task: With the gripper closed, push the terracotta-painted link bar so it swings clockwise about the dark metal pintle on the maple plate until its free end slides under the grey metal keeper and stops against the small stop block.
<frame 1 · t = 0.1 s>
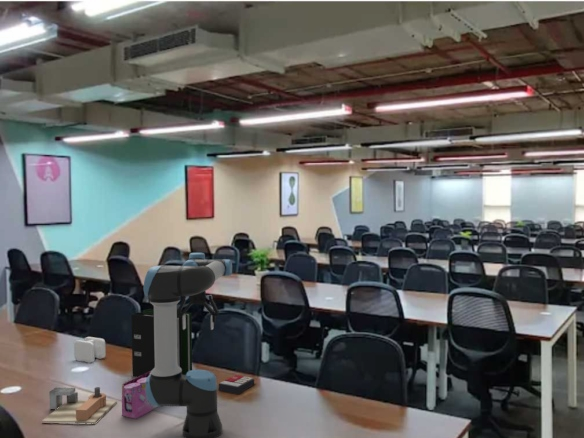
hand: (198, 329, 250), 28 cm above the table, tool pointing down, fingers open, 13 cm apart
calculator: (236, 388, 249), on the table
gum box: (146, 408, 226), on the table
keeper: (64, 407, 226), resting on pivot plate
binder: (162, 375, 267), on the table
cable organizer: (89, 360, 295), on the table
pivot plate: (81, 413, 220), on the table
link: (91, 405, 219), point 4 cm above the table, hinge at 0.0°
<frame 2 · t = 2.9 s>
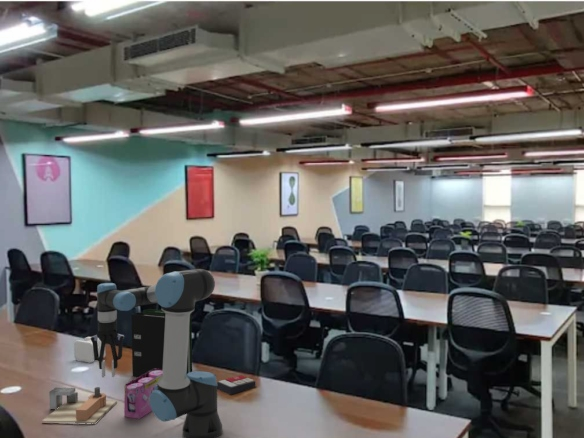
hand: (108, 376, 217), 17 cm above the table, tool pointing down, fingers open, 3 cm apart
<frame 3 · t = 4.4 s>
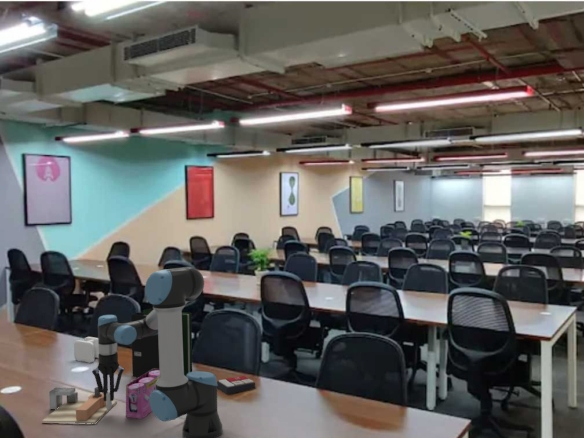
hand: (109, 408, 218), 3 cm above the table, tool pointing down, fingers closed
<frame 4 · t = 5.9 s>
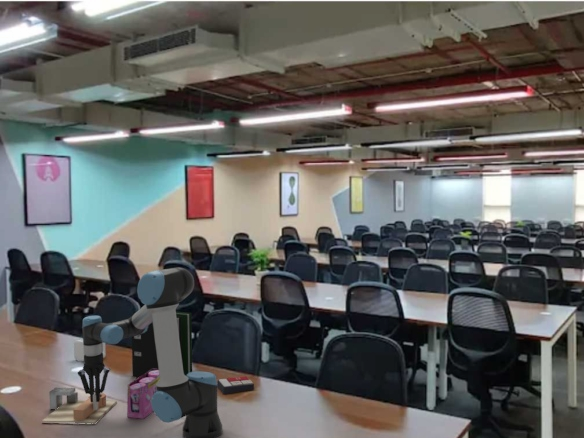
hand: (95, 409, 217), 3 cm above the table, tool pointing down, fingers closed
link: (90, 405, 219), point 4 cm above the table, hinge at -4.4°, touching gripper
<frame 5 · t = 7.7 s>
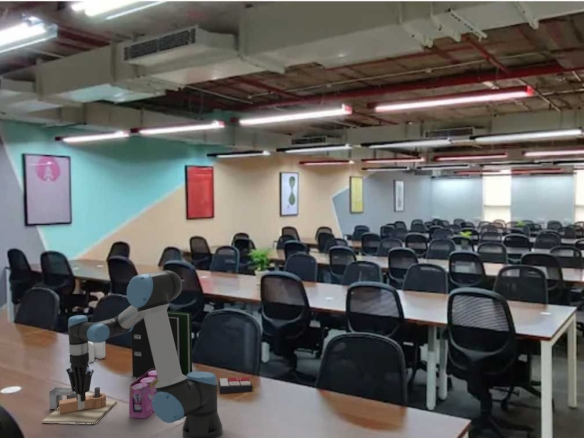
hand: (81, 408, 219), 3 cm above the table, tool pointing down, fingers closed
link: (82, 403, 222), point 4 cm above the table, hinge at -59.4°, touching gripper
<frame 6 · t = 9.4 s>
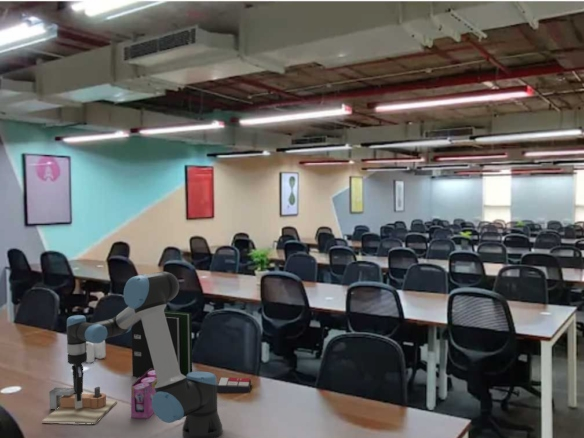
hand: (78, 407, 220), 2 cm above the table, tool pointing down, fingers closed
link: (83, 400, 225), point 4 cm above the table, hinge at -86.3°
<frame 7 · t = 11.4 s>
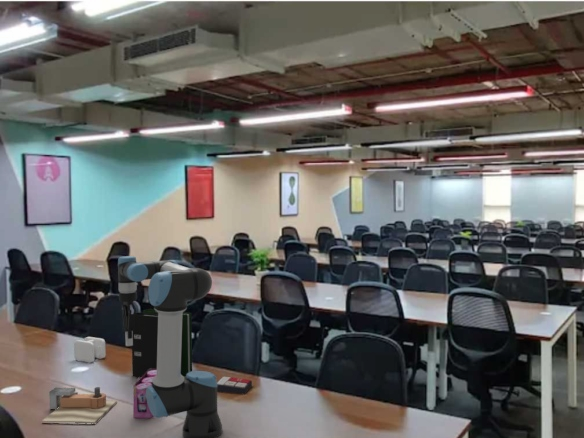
hand: (129, 345, 227), 27 cm above the table, tool pointing down, fingers closed
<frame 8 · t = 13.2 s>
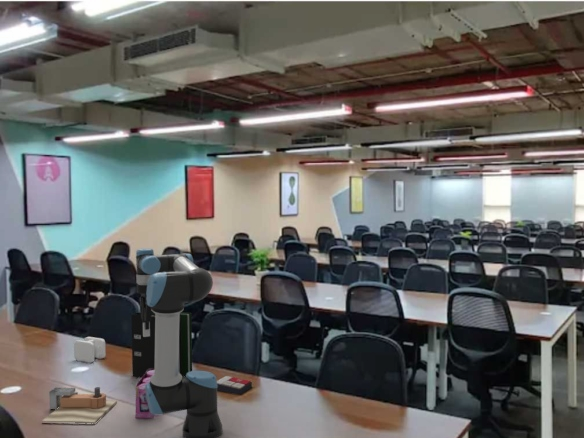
hand: (146, 336, 232), 29 cm above the table, tool pointing down, fingers closed
at the end: link at -86° (first picture: +0°); the gripper is holding nothing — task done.
